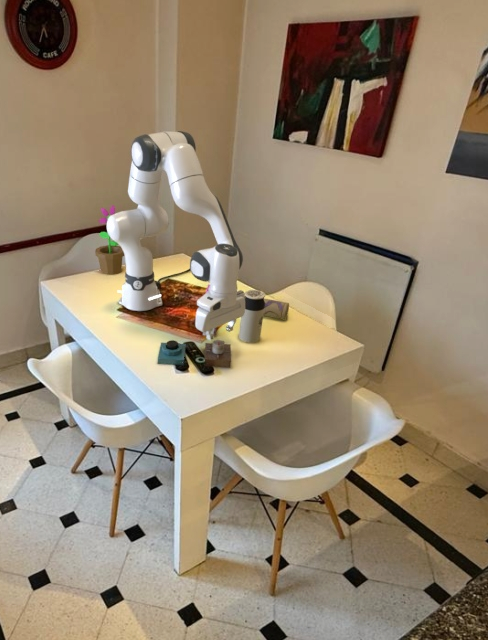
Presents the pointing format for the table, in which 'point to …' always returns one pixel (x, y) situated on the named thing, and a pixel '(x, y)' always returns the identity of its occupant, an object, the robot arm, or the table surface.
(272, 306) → the decorative bottle
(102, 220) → the flowerpot
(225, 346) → the dial panel
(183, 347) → the button box
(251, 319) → the travel mug
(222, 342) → the dial knob
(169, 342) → the button
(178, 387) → the table surface
